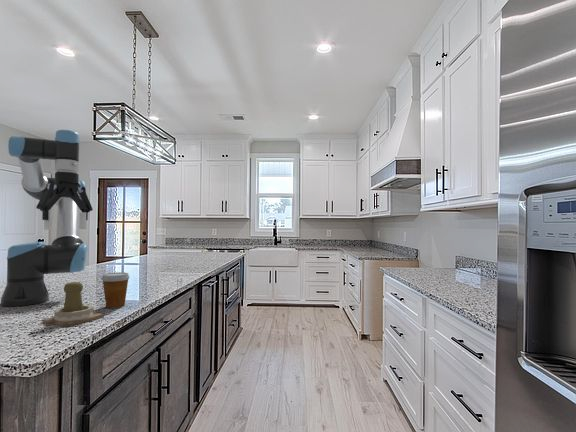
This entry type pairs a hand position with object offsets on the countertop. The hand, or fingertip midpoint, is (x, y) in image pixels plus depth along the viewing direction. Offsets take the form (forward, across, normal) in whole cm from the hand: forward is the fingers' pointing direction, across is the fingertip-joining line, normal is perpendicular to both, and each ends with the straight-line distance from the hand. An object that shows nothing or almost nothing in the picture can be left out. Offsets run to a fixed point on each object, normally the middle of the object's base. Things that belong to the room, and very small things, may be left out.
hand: (66, 229), depth 130 cm
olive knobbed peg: (+28, -11, -19) cm, 36 cm away
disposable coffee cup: (+29, +8, -16) cm, 34 cm away
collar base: (+29, -11, -19) cm, 36 cm away
